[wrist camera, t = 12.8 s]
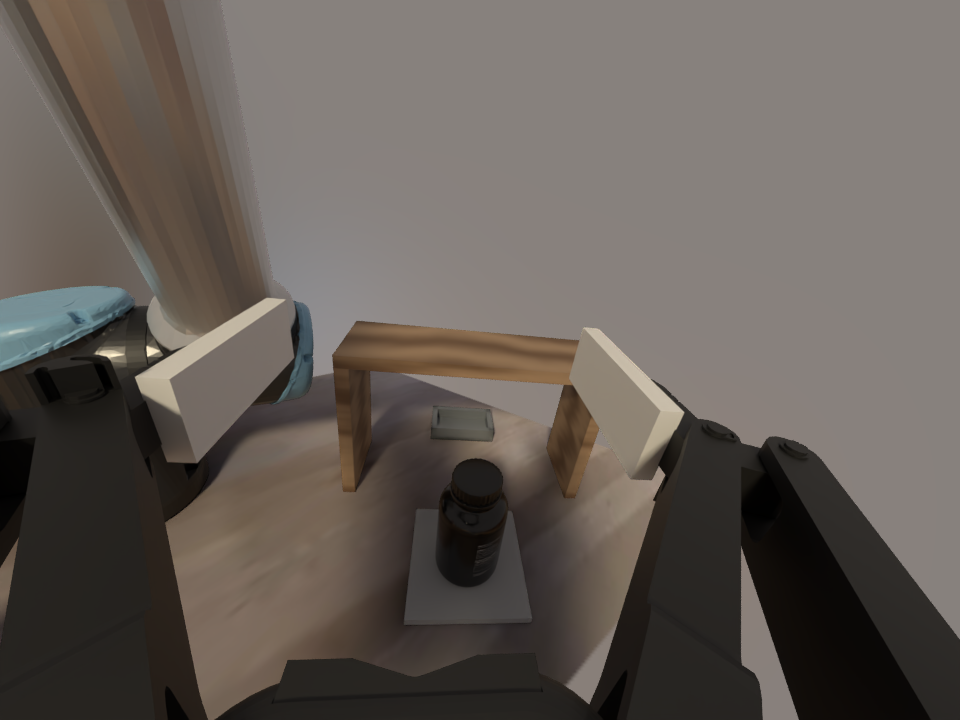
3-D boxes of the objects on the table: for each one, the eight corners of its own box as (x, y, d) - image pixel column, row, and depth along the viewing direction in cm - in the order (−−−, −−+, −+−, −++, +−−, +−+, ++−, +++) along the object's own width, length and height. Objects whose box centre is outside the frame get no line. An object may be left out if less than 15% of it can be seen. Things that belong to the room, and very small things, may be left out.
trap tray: (492, 441, 55) (493, 431, 55) (430, 438, 54) (431, 427, 53) (488, 419, 61) (490, 409, 60) (432, 416, 60) (433, 405, 59)
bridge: (574, 498, 47) (617, 377, 38) (343, 491, 43) (332, 355, 35) (555, 448, 56) (586, 341, 47) (361, 439, 52) (356, 320, 43)
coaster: (403, 625, 31) (403, 620, 31) (416, 513, 42) (416, 508, 41) (530, 622, 33) (532, 618, 32) (511, 515, 43) (512, 510, 43)
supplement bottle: (494, 530, 40) (510, 452, 35) (499, 591, 34) (521, 508, 29) (436, 527, 39) (443, 448, 34) (431, 589, 33) (439, 504, 28)
